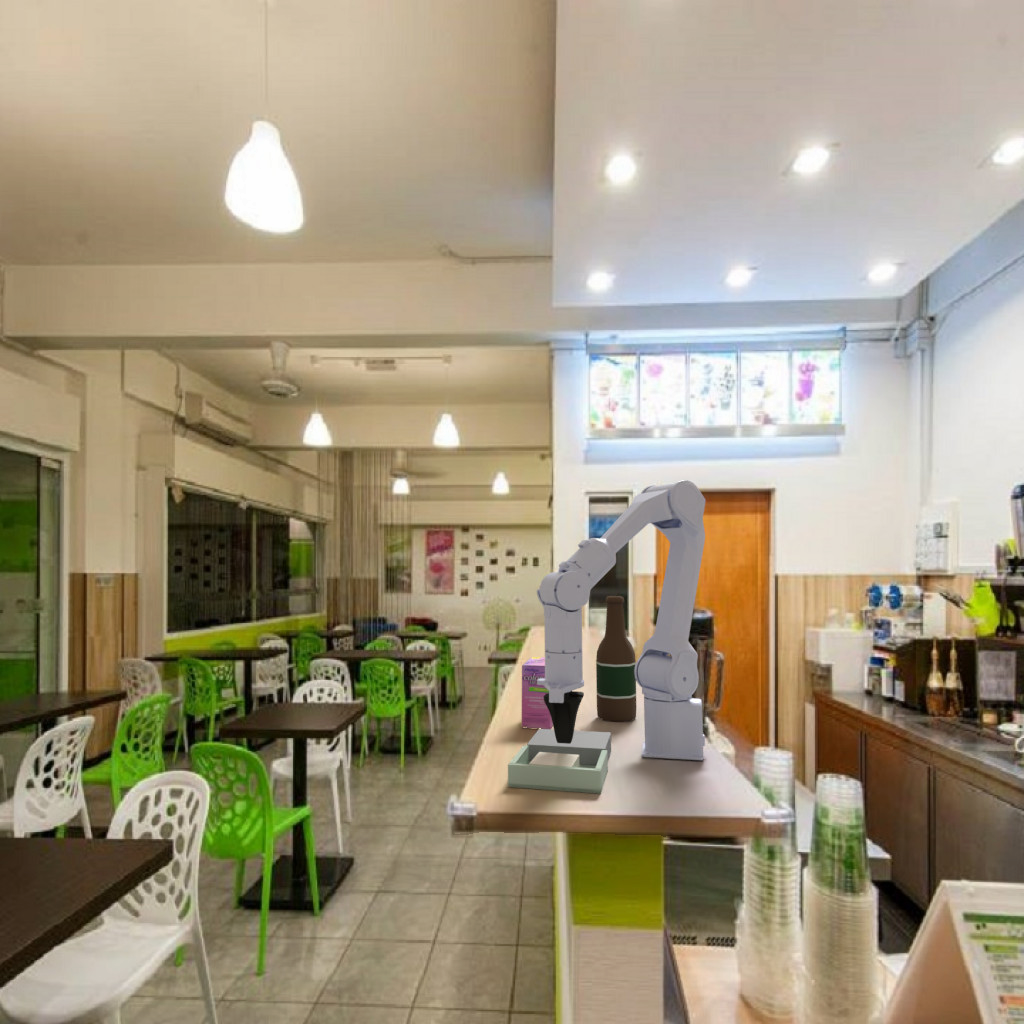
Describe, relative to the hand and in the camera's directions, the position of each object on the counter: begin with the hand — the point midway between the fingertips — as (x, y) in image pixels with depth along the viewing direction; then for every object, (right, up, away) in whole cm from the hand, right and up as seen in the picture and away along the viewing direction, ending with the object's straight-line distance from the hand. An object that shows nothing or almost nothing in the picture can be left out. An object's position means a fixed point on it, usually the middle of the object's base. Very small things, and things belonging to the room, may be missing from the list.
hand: (564, 742), depth 103 cm
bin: (-1, -4, -5) cm, 6 cm away
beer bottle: (+13, -6, +33) cm, 36 cm away
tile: (-2, -1, -6) cm, 6 cm away
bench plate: (+1, -4, +6) cm, 7 cm away
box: (-2, -6, +29) cm, 30 cm away
